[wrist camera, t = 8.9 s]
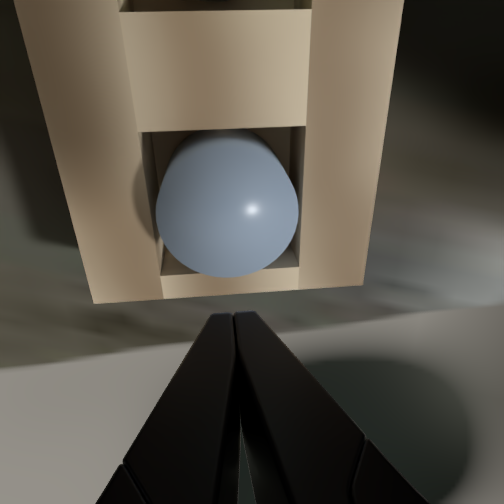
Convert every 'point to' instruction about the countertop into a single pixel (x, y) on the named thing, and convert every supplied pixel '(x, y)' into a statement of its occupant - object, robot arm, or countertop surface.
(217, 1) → the green button
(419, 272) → the countertop surface
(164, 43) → the button panel
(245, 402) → the robot arm
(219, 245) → the blue button
